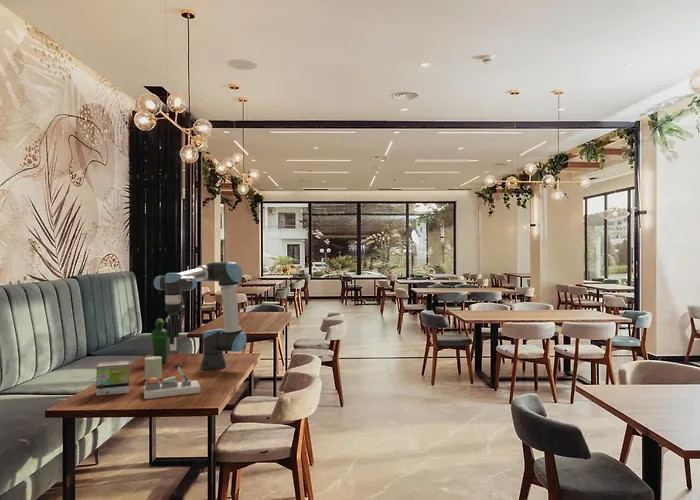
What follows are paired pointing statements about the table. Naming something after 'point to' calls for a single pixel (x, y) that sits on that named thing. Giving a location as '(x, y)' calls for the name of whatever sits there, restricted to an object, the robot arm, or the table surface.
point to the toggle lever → (180, 372)
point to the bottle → (159, 341)
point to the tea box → (112, 378)
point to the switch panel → (170, 388)
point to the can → (153, 367)
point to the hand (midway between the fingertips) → (173, 350)
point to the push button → (152, 380)
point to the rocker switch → (169, 379)
